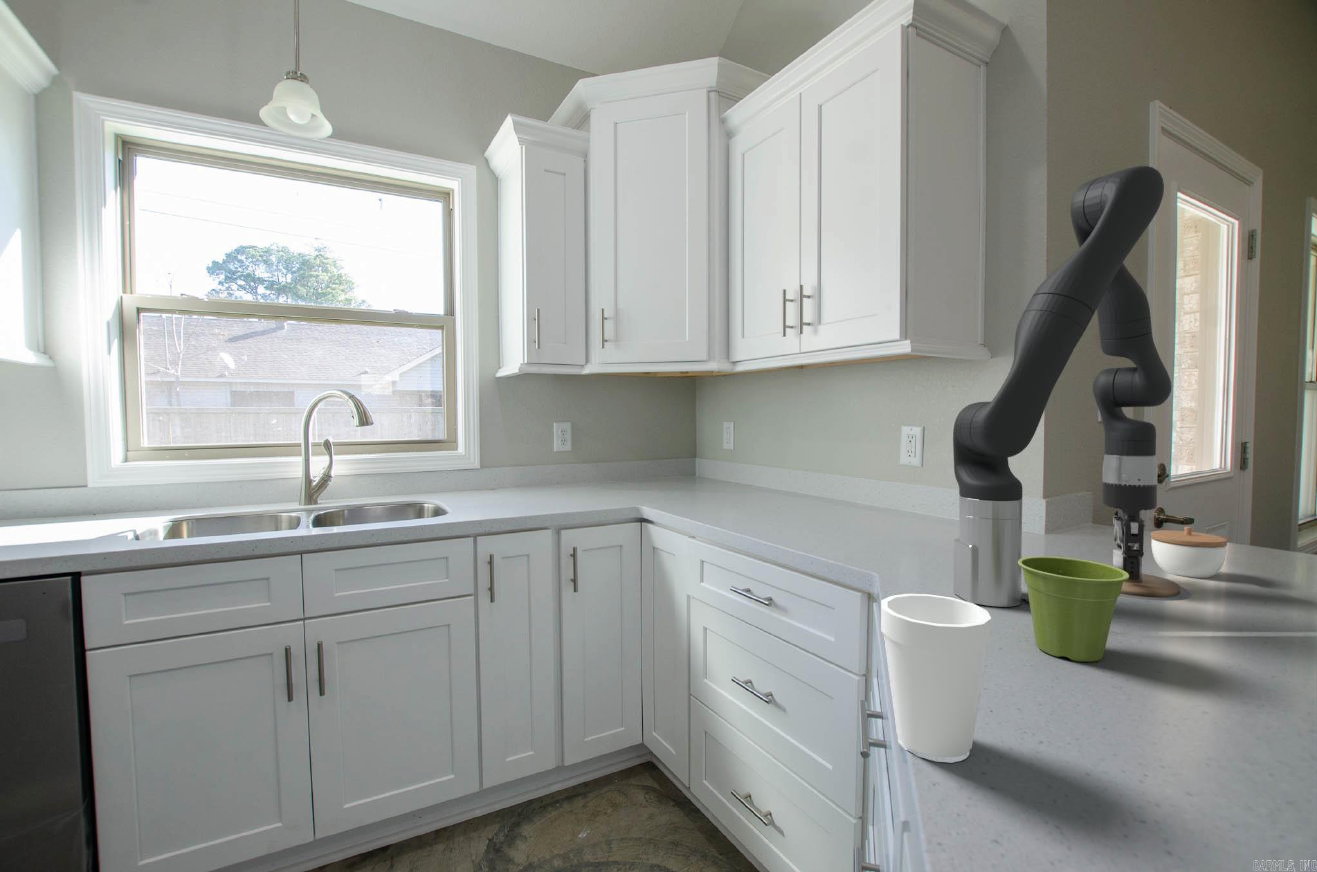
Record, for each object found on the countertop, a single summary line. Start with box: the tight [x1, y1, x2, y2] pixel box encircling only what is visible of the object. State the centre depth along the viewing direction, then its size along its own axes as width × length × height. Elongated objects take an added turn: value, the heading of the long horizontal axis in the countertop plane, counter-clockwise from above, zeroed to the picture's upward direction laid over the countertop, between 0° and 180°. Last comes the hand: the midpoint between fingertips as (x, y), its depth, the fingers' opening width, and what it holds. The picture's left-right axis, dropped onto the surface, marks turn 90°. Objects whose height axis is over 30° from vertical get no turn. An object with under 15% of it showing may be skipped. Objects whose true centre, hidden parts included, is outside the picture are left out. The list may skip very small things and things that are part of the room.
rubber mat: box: [1119, 586, 1193, 602], centre depth 103 cm, size 17×17×1 cm
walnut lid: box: [1112, 548, 1181, 597], centre depth 103 cm, size 14×14×6 cm
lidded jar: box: [1150, 526, 1228, 579], centre depth 111 cm, size 11×11×9 cm
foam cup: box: [880, 593, 992, 757], centre depth 55 cm, size 10×9×13 cm
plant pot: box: [1018, 556, 1129, 663], centre depth 76 cm, size 12×12×11 cm
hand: (1127, 574), depth 103 cm, fingers open, 6 cm apart
